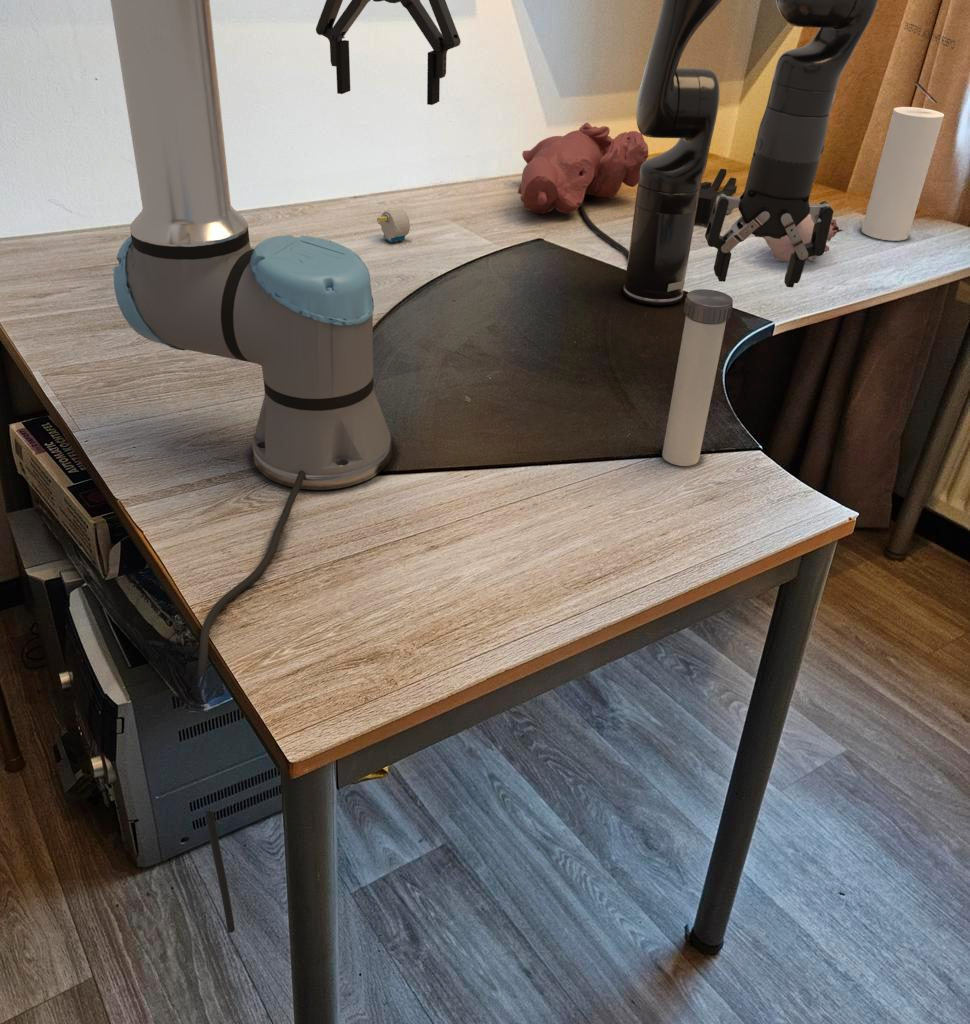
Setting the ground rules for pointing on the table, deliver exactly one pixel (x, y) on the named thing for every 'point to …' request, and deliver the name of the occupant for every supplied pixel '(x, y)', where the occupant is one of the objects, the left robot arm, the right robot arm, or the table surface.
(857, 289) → the table surface
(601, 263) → the table surface
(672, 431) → the beige cylindrical rod
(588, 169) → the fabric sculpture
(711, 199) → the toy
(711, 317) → the lid
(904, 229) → the tall white tube
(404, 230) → the electric motor
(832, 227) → the toy
